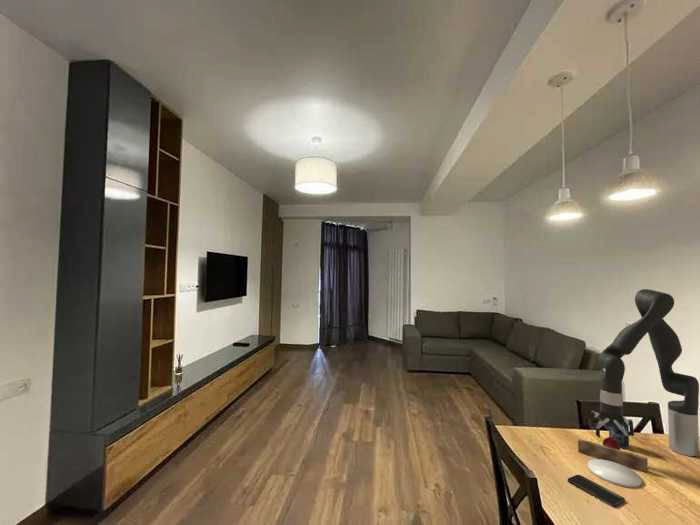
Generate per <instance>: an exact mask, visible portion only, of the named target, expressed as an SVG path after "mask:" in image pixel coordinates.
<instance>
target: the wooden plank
mask: <svg viewBox="0 0 700 525" xmlns="http://www.w3.org/2000/svg"><path fill="white" fill-rule="evenodd" d="M577 445H578V446H577V449H578V450H577V451H578V453H579V452H580V454H583V453H584V455H586V454H588V455H587V456H590V455H592V456H591V457H593V456H594V458H596V457H597V458H596V459H602V460H608V461H612V462H615V463H618V464H621V465H623V466H626V467H628V468H630V469H632V470H633V469H634V470H637V471H641V472H643V473H649V468H648V467H649V465H648V462H649V461H648V457H647V456H643V455H639V454H636V453H633V452H629V451H626V450H622V449H620V450H618V449H615V448H611V447H607V446H604V445H603V444H600V443H596V442H592V441H588V440H585V439H582V438H578V439H577Z"/></svg>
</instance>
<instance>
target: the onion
mask: <svg viewBox="0 0 700 525" xmlns="http://www.w3.org/2000/svg"><path fill="white" fill-rule="evenodd" d="M602 445H604V446H607V447H611V448H615V449H618V450H621V448H620V445H619V443H618V442H617V441H616V440H615V439H614V438H613V437H612V436H611V435H610V436H609V435H608V437H606V438H604V439H603V440H602Z"/></svg>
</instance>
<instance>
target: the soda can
mask: <svg viewBox="0 0 700 525" xmlns="http://www.w3.org/2000/svg"><path fill="white" fill-rule="evenodd" d="M623 418H624V419H627V418H626V417H624V416H623ZM622 425H623V427H624V428H625V429H626V431H630V428H629V425H627V423H626V422H624V423H623V424H622ZM610 435H611V436H612V437H613V438H614V439H615V440H616V441H617V442H618V443H619V445H620V449H627V448H628V447H629V446H630V436H628V444H626V445H624V433H623V432H622V431H621V430H620V429H619V428H618V427H616V428H615V427H612V426H608V437H609V436H610Z"/></svg>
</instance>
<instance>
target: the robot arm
mask: <svg viewBox="0 0 700 525" xmlns="http://www.w3.org/2000/svg"><path fill="white" fill-rule="evenodd" d="M634 303H635V306H636V308H637V311H638V313H639V315H640V317H641V318H639V319H638V320H637V321H635V322H633V323H631V324H629V325H627V326H626V327H624V328H623V329H622V330H620V332H619V333H618V334H617V335H616V336H615V337H614V340H613V342H611V344H610V345H608V346H607V347H606V348H605V349H603V350H602V351H601V352H600V353H599V355H598V357H597V364H598V365H599V366H600V367H601V368H602V369H604V370H605V371H604V375H602V376H601V377H600V392H599V393H600V394H599V409H600V410H599V412H596V411H595V410H591V414H590V426H591V427H594V428H595V436H596V437H597V438H599V439H601V428H602V427H603V426H604V425H606V426H607V427H609V426H612V427H615V428H616V427H618V428H619V429H620V430H621V431H622V432H623V433H624V445H626V444H628V436H629V437H635V428H634V421H633V419H631V418H626V419H624V418H625V417H624V408H623V407H624V406H623V405H624V404H623V403H624V401H623V399H624V398H623V393H622V392H623V389H622V388H623V387H622V383H623V380H624V376H625V372H626V366H625V365H626V364H625V362H624V360H622V358H623V357H624V356H628V355H631V353H632V352H633V351H634V350H635V348H636V347H637V345H639V343H640V341H641V340H642V339H643V338H644V337H645V336H646V335H647V334H648V338H649V341H650V344H651V348H652V351H653V352H654V356H655V358H656V362H657V366H658V369H659V375H660V381H661V385H662V387H663V389H664V390H665V391H666V392H668V393H671V394H674V395H679V396H682V397H684V399H683V400H671V401H668V402H667V412H668V413H667V415H668V416H667V417H668V418H667V419H668V420H667V422H668V423H667V424H668V425H667V426H668V448H669V449H671V450H672V451H674V452H676V453H679V454H681V455H683V456H689V457H693V456H697V457H699V456H700V435H699V434H700V431H699V404H700V403H699V394H700V383H699V381H698V379H697V378H696V377H695V376H692V375H689V374H688V375H687V374H684V373H678V372H674V370H673V366H674V365H673V364H674V363H675V362H676V361H677V360H678V359H679V358H680V357H681V355H682V352H683V348H682V344H681V341H680V338H679V336H678V333H676V332H675V330H674V329H673V328H672V327H671V326H670V325H669V324H668V323H667V322H666V321H665V319H664V318H665V317H666V316H667V315H668V314H669V313H670V312H671V311H672V309H673V308H674V305H675V299H674V297H673V295H671V294H670V293H666V292H662V291H657V290H654V289H646V288H644V289H643V288H642V289H639V290H638V291H637V292H636V294H635V297H634ZM598 417H599V418H600V420H599V422H597V423H596V422H595V418H598ZM623 417H624V418H623ZM624 422H626V423H627V425H629V431H626V429H625V428H624V427H623V425H622V424H623V423H624Z"/></svg>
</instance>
